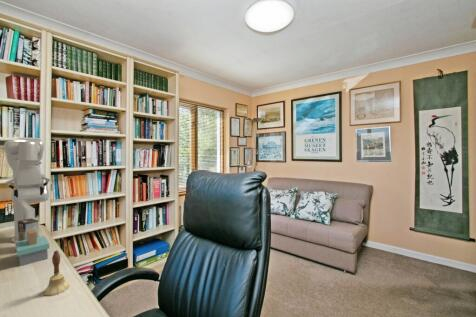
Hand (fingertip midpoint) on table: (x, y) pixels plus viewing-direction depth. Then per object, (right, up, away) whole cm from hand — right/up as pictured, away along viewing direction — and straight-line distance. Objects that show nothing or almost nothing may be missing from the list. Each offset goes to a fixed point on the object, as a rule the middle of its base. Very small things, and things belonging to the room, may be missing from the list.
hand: (29, 195), depth 121 cm
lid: (+4, -26, -3) cm, 27 cm away
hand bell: (+39, -33, -29) cm, 59 cm away
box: (+4, -32, -3) cm, 32 cm away
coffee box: (-8, -32, +8) cm, 34 cm away
